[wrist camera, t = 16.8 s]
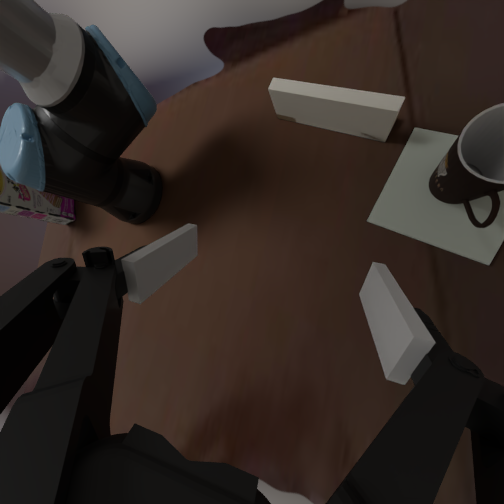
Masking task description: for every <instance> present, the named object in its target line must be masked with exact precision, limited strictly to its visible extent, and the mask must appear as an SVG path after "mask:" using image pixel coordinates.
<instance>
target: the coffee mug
mask: <svg viewBox="0 0 504 504" xmlns="http://www.w3.org/2000/svg"><path fill="white" fill-rule="evenodd" d="M429 190H430V192H431V194H432V195H433V196H434V197H435V198H436V199H438V200H439V201H441V202H444V203H448V204H461V203H463V204H464V207H465V210H466V213H467V215H468V218H469V220H470V221H471V223H472V224H473V225H474V226H475V227H477V228H486V227H488V226H489V225H491V224H492V223H493V222H494V220H495V219H496V217H497V214H498V212H499V208H500V198H499V195H498V192H500V191H503V190H504V103H502V104H499V105H495V106H493V107H491V108H489V109H486V110H484V111H483V112H481V113H480V114H478V115H477V116H475V117H474V118H473V119H472V120H471V121H470V122H469V123H468V124H467V125H466V126H465V128H464V129H463V130H462V132H461V133H460V135H459V136H458V137H457V139H456V140H455V142H454V143H453V145H452V146H451V148H450V149H449V150H448V152H447V153H446V155H445V156H444V158H443V159H442V160H441V162H440V163H439V165H438V166H437V168H436V169H435V170H434V172H433V173H432V175H431V177H430V179H429ZM484 196H489V197H490V198H491V201H492V208H491V212H490V214H489V216H488V218H487V219H486V220H485V221H484V222H483V223H480V222H479V221H478V220H477V219H476V218H475V215H474V213H473V210H472V208H471V205H470V202H469V201H472V200H475V199H478V198H481V197H484Z"/></svg>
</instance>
